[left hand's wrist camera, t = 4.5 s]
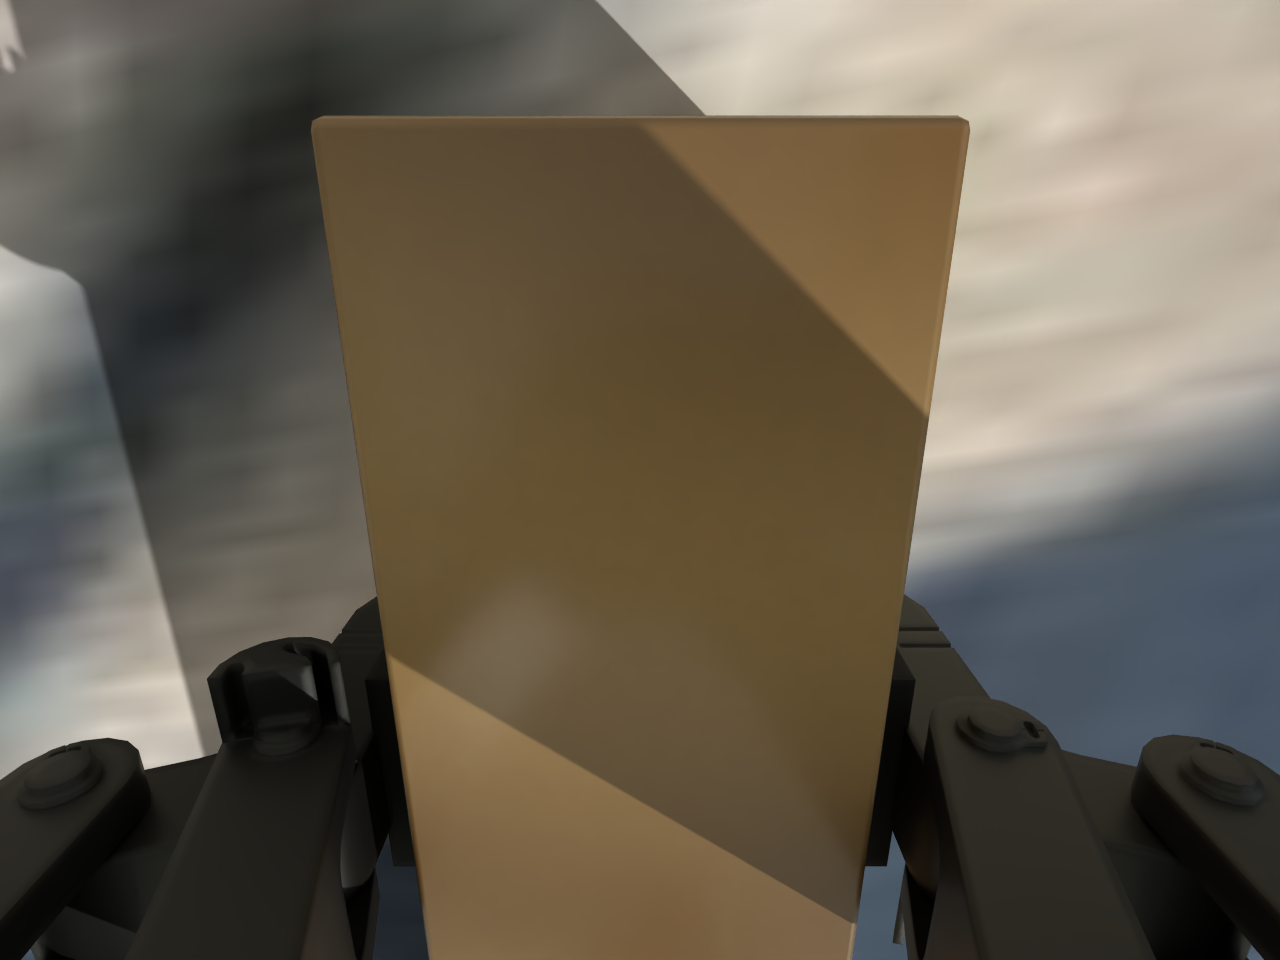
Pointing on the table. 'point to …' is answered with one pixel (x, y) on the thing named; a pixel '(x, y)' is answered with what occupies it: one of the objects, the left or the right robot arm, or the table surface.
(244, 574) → the table surface
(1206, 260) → the table surface
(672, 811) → the beam
